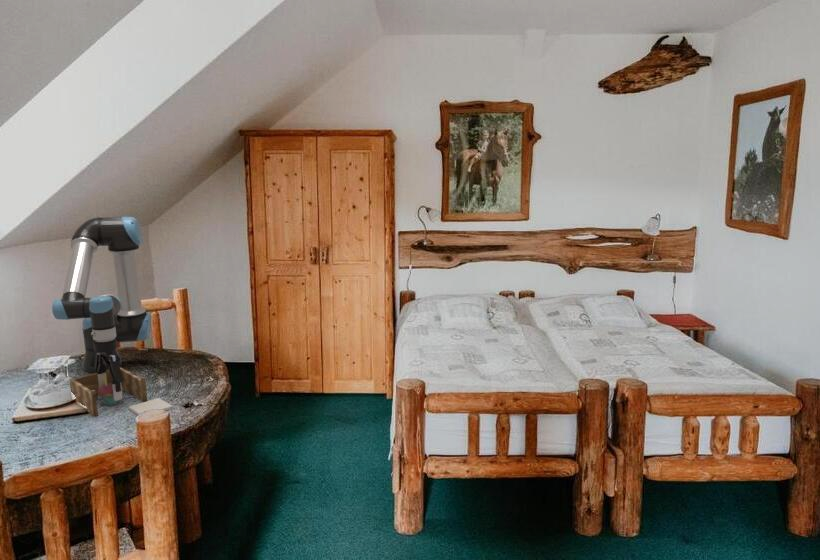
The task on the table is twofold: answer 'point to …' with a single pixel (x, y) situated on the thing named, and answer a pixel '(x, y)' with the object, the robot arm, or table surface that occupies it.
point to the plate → (150, 406)
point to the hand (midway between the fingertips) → (110, 395)
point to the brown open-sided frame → (89, 384)
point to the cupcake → (107, 392)
